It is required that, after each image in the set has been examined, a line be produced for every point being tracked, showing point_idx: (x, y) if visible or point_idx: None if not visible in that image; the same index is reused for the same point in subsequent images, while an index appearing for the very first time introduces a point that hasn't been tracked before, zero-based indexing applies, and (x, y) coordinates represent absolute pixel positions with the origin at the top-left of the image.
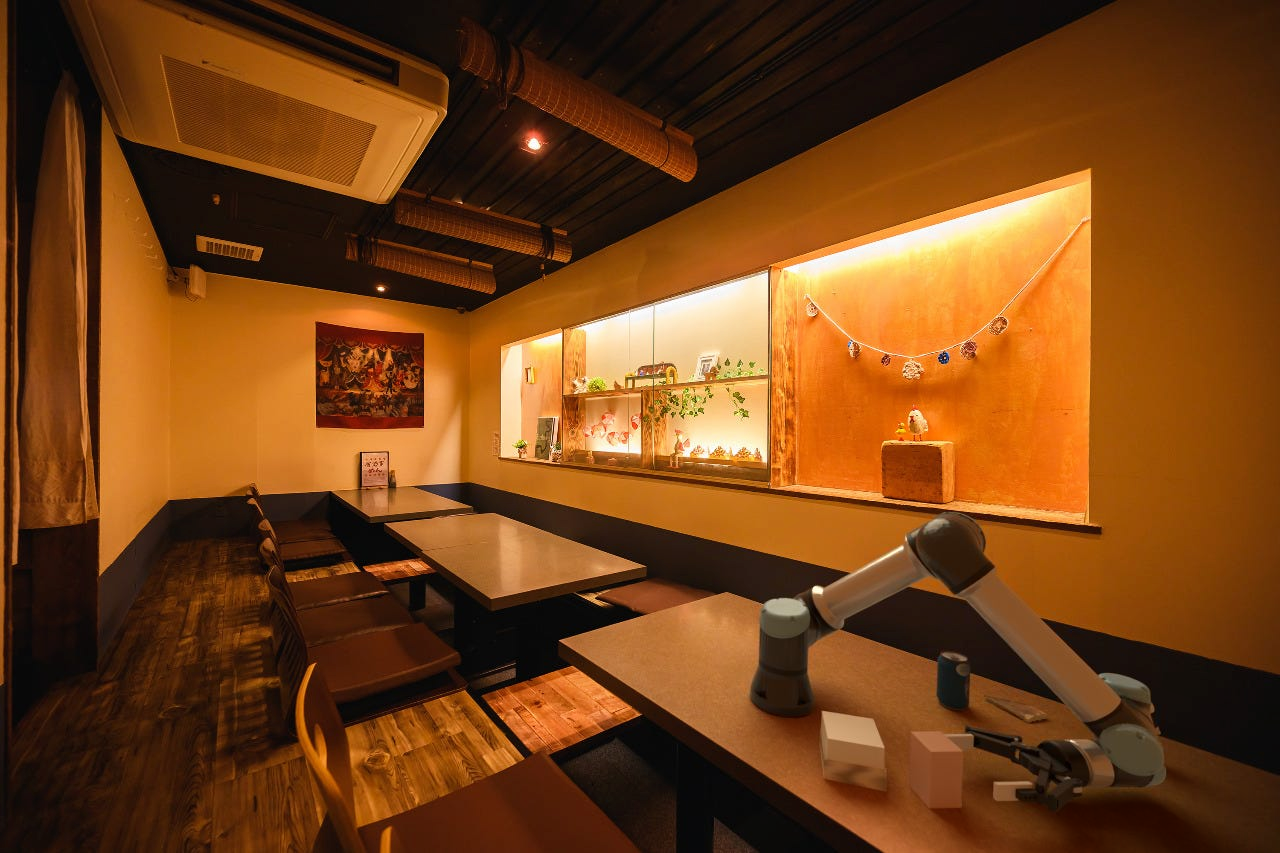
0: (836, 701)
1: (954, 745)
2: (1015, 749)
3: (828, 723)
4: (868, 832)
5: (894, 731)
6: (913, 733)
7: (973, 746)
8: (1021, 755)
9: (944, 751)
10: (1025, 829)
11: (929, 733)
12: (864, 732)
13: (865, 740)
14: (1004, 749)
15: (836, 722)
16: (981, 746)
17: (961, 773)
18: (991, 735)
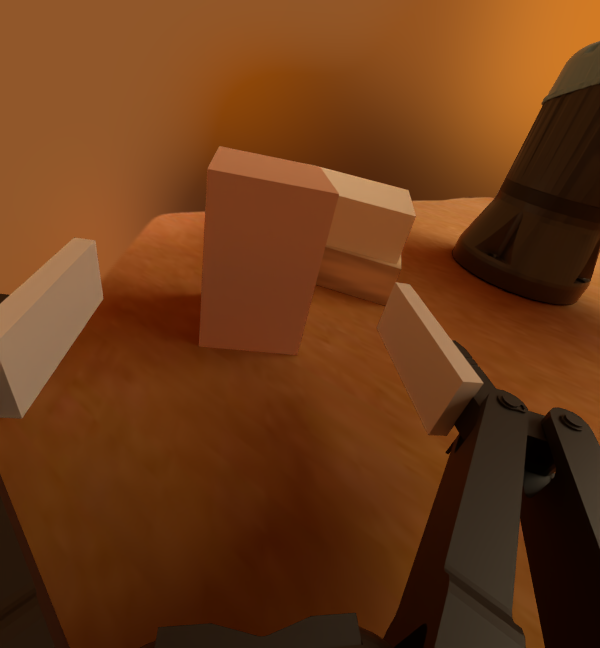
0: (594, 340)
1: (247, 174)
2: (423, 618)
3: (363, 179)
4: (175, 219)
5: (534, 389)
6: (311, 166)
7: (454, 444)
8: (335, 620)
9: (216, 154)
10: (35, 458)
11: (318, 178)
12: (346, 189)
13: None
14: (433, 550)
15: (371, 185)
16: (451, 459)
17: (204, 251)
18: (583, 538)
